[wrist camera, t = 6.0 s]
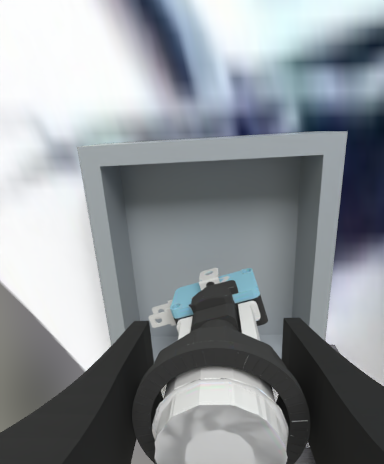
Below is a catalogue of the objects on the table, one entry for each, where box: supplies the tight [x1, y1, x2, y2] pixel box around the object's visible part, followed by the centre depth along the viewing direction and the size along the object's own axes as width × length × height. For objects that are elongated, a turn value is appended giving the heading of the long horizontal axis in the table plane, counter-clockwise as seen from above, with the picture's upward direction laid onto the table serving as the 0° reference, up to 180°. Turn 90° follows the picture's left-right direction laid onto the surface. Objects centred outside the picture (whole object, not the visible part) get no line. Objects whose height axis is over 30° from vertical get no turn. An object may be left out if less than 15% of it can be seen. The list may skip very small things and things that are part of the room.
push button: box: [132, 268, 310, 464], centre depth 13 cm, size 7×5×10 cm
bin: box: [77, 131, 347, 362], centre depth 19 cm, size 13×15×4 cm
